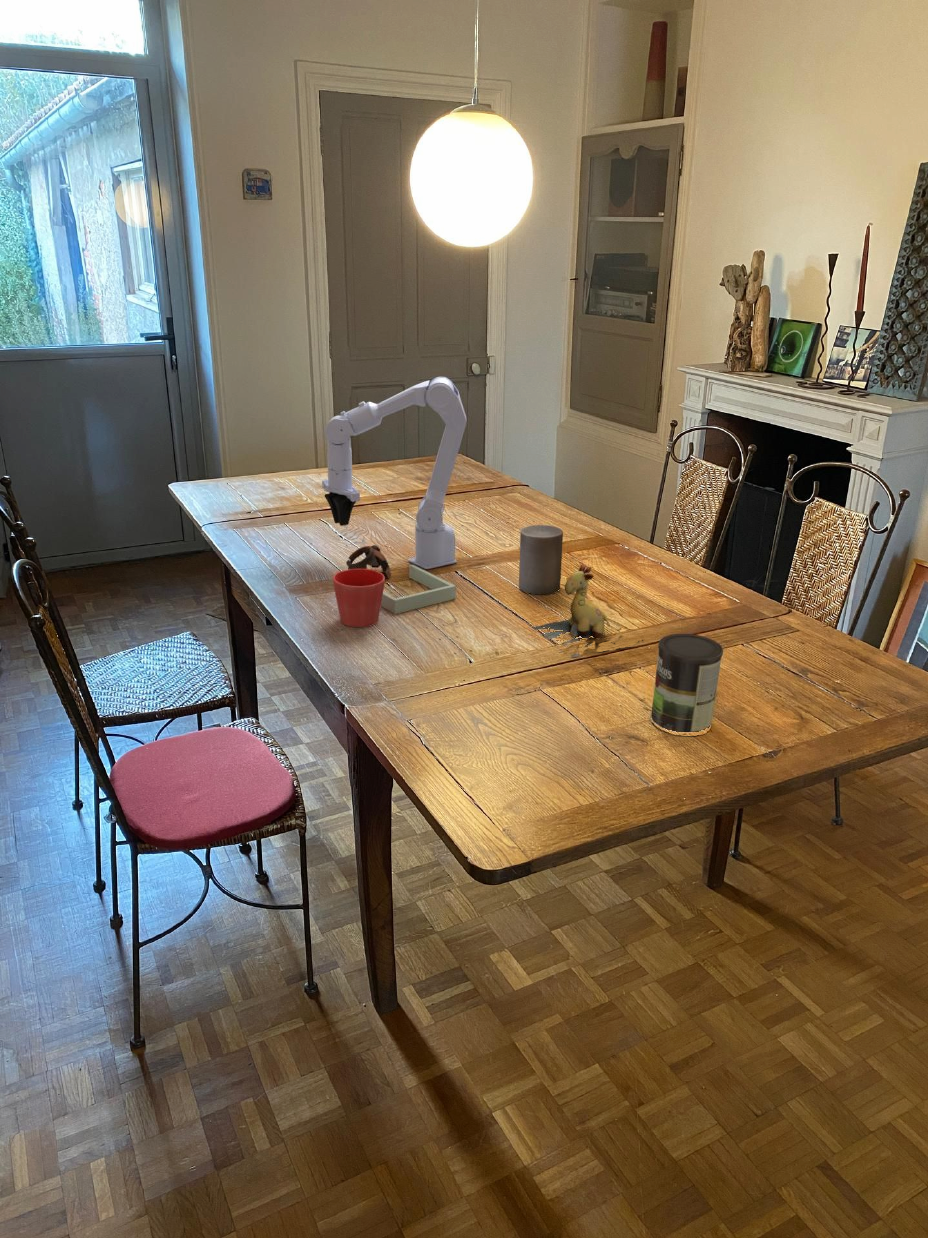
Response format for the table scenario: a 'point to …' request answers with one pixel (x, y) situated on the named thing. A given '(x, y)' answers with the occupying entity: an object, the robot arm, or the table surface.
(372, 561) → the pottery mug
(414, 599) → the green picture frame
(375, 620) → the flower pot
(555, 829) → the table surface
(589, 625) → the stuffed giraffe
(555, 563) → the pillar candle
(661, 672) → the coffee can
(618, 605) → the table surface
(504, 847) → the table surface
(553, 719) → the table surface
